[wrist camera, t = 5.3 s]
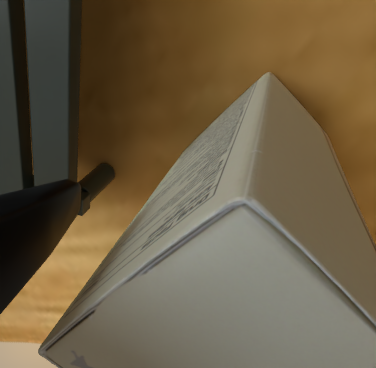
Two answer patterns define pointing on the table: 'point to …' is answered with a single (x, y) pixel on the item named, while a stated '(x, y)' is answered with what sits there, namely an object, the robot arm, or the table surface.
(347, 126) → the table surface
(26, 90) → the rack
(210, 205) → the cosmetic box
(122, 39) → the table surface
